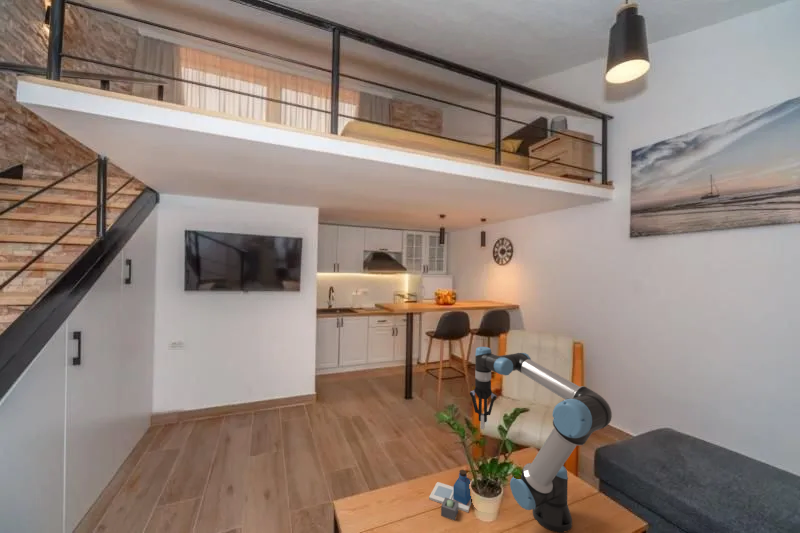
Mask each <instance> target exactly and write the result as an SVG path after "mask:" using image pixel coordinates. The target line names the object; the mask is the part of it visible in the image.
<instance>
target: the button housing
mask: <svg viewBox="0 0 800 533" xmlns="http://www.w3.org/2000/svg"><path fill="white" fill-rule="evenodd" d="M447 500H452V499H449V498H446V497H445V499H444V501H443V504H441V507H440V508H441V509H440V516H441V517H444V518H446V519H449V520H451V521H456V518H457V516H458V513H459V509H458V508H459V502H458V501H455V500H452V501H453V508H451V507H448V506H447Z"/></svg>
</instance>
